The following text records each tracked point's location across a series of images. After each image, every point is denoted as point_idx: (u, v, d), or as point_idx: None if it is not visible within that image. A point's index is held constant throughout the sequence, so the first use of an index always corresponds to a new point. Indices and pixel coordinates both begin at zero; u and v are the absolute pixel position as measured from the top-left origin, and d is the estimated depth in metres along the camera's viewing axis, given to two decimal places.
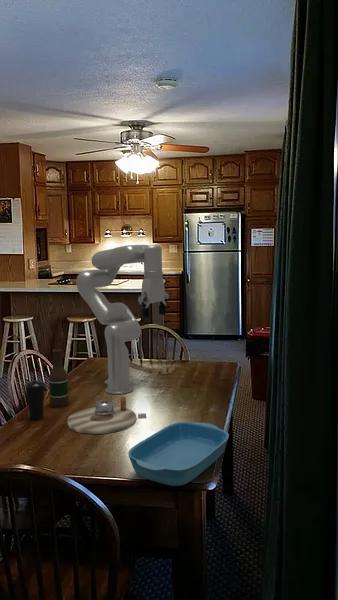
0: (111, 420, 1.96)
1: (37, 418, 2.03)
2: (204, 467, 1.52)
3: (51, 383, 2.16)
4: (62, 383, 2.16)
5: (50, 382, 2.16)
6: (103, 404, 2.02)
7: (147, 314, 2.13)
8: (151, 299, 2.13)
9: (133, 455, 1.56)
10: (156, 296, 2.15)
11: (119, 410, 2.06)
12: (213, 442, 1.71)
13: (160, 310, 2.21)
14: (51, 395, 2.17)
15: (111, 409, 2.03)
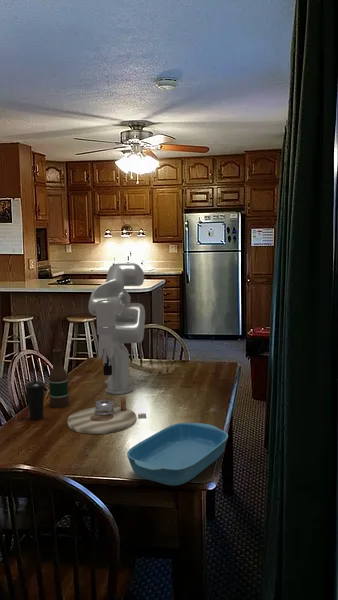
0: (111, 420, 1.96)
1: (37, 418, 2.03)
2: (203, 467, 1.52)
3: (51, 383, 2.16)
4: (62, 383, 2.16)
5: (50, 382, 2.16)
6: (103, 404, 2.02)
7: (110, 372, 2.11)
8: (110, 355, 2.07)
9: (132, 455, 1.56)
10: (112, 351, 2.10)
11: (119, 410, 2.06)
12: (213, 443, 1.71)
13: None
14: (51, 395, 2.17)
15: (111, 409, 2.03)
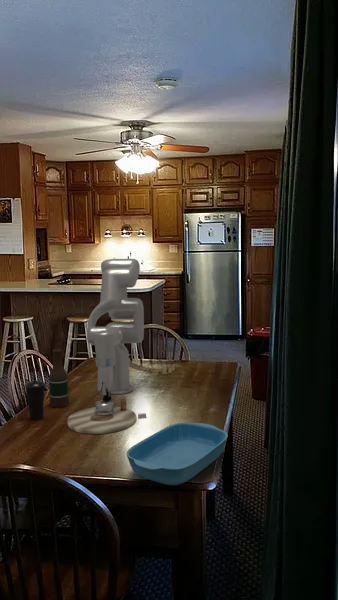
0: (111, 420, 1.96)
1: (37, 418, 2.03)
2: (202, 466, 1.53)
3: (51, 383, 2.16)
4: (62, 383, 2.16)
5: (50, 382, 2.16)
6: (103, 404, 2.02)
7: None
8: (110, 387, 2.05)
9: (131, 455, 1.56)
10: (111, 383, 2.08)
11: (119, 410, 2.06)
12: (212, 442, 1.71)
13: None
14: (51, 395, 2.17)
15: (111, 409, 2.03)
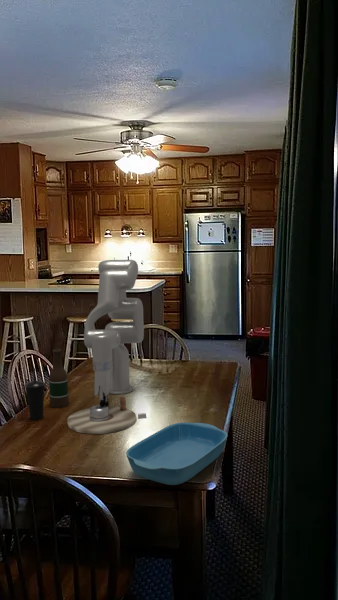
0: (111, 419, 1.96)
1: (37, 418, 2.03)
2: (201, 466, 1.53)
3: (51, 383, 2.16)
4: (62, 383, 2.16)
5: (50, 382, 2.16)
6: (97, 409, 1.96)
7: None
8: (107, 392, 1.99)
9: (131, 455, 1.57)
10: (109, 387, 2.02)
11: (119, 410, 2.07)
12: (212, 442, 1.71)
13: None
14: (51, 395, 2.17)
15: (105, 415, 1.96)
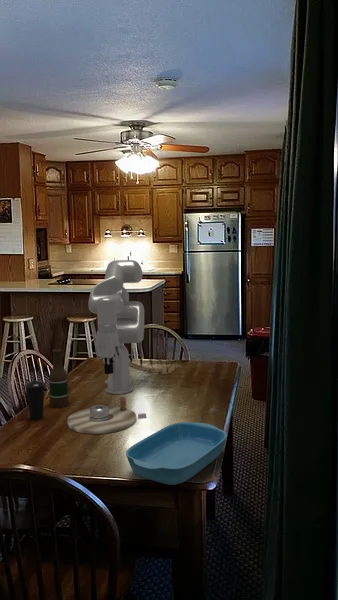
0: (111, 419, 1.96)
1: (37, 418, 2.03)
2: (201, 466, 1.53)
3: (51, 383, 2.16)
4: (62, 383, 2.16)
5: (50, 382, 2.16)
6: (97, 410, 1.96)
7: None
8: None
9: (131, 455, 1.57)
10: None
11: (119, 410, 2.07)
12: (212, 442, 1.71)
13: None
14: (51, 395, 2.17)
15: (105, 415, 1.96)
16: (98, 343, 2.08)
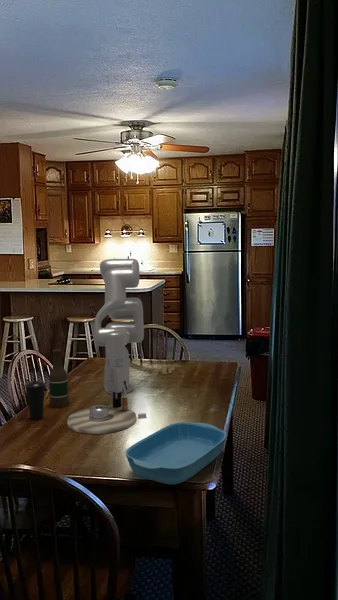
0: (110, 420, 1.96)
1: (37, 418, 2.03)
2: (201, 466, 1.53)
3: (51, 383, 2.16)
4: (62, 383, 2.16)
5: (50, 382, 2.16)
6: (96, 409, 1.96)
7: (120, 403, 2.09)
8: None
9: (130, 454, 1.57)
10: None
11: (120, 411, 2.06)
12: (211, 442, 1.71)
13: None
14: (51, 395, 2.17)
15: (104, 415, 1.96)
16: (106, 377, 2.07)
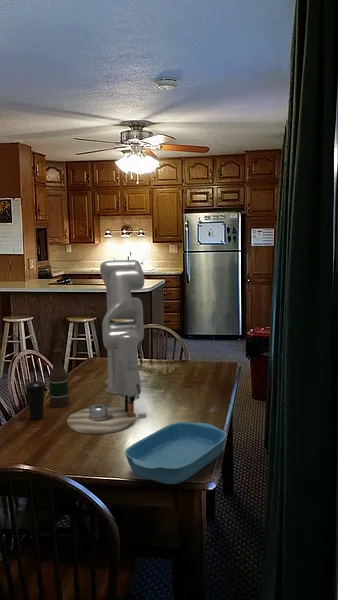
0: (102, 421, 1.94)
1: (37, 418, 2.03)
2: (200, 466, 1.53)
3: (51, 383, 2.16)
4: (62, 383, 2.16)
5: (50, 382, 2.16)
6: (93, 408, 1.97)
7: None
8: None
9: (130, 454, 1.57)
10: None
11: (126, 415, 2.00)
12: (211, 442, 1.71)
13: None
14: (51, 395, 2.17)
15: (98, 416, 1.96)
16: (118, 380, 2.02)
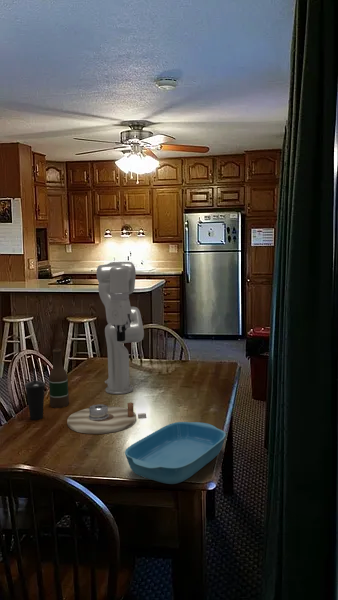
0: (102, 421, 1.94)
1: (37, 418, 2.03)
2: (200, 465, 1.53)
3: (51, 383, 2.16)
4: (62, 383, 2.16)
5: (50, 382, 2.16)
6: (93, 408, 1.97)
7: (124, 337, 2.16)
8: None
9: (130, 454, 1.57)
10: None
11: (126, 415, 2.00)
12: (211, 441, 1.72)
13: None
14: (51, 395, 2.17)
15: (98, 416, 1.96)
16: (111, 311, 2.14)
